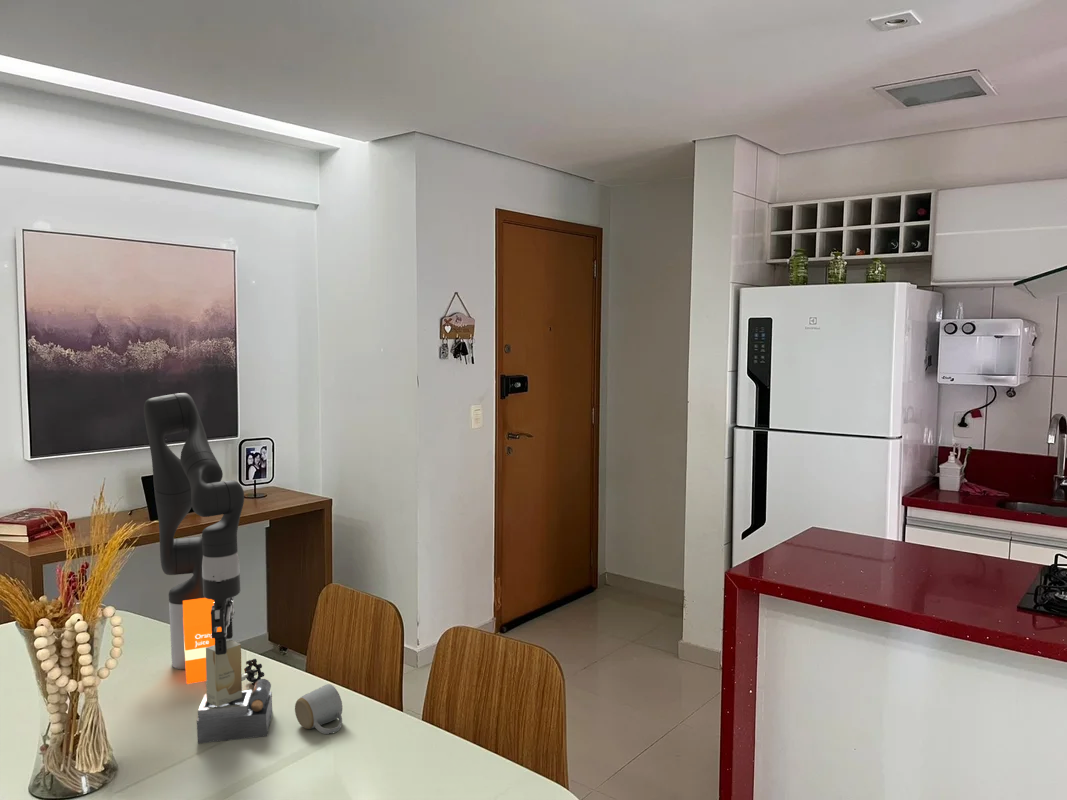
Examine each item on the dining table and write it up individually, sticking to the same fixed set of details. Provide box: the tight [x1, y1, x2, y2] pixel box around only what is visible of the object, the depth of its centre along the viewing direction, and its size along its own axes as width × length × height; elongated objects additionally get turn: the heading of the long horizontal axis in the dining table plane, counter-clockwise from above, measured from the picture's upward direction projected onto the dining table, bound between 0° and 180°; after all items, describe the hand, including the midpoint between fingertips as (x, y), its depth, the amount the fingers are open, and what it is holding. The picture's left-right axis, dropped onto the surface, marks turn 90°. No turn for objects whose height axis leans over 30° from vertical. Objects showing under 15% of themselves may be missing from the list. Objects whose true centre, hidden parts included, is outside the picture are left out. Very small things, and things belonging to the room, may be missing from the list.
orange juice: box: [183, 598, 222, 685], centre depth 206 cm, size 8×9×20 cm
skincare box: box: [205, 639, 243, 707], centre depth 178 cm, size 6×4×12 cm
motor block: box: [196, 678, 273, 744], centre depth 179 cm, size 11×14×9 cm
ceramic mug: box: [294, 683, 343, 735], centre depth 180 cm, size 11×8×8 cm
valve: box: [241, 658, 265, 687], centre depth 196 cm, size 7×7×12 cm
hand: (224, 645), depth 178 cm, fingers open, 8 cm apart
